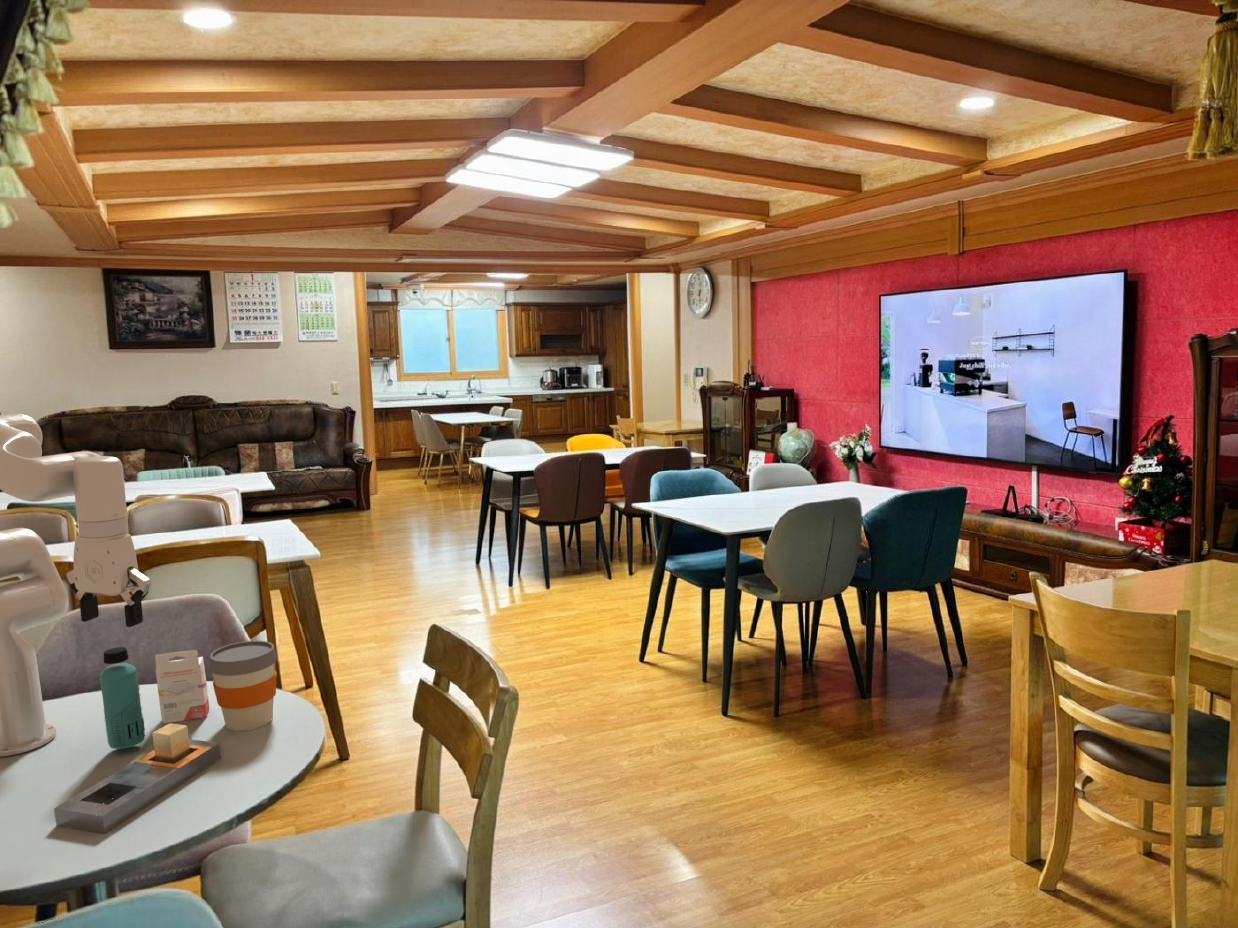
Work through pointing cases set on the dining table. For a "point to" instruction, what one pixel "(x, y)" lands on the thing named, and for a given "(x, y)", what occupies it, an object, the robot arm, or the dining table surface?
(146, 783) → the grey flat rectangular block
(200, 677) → the ink cartridge box
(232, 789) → the dining table surface
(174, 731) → the wooden block
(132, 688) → the beverage bottle
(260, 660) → the reusable coffee cup
